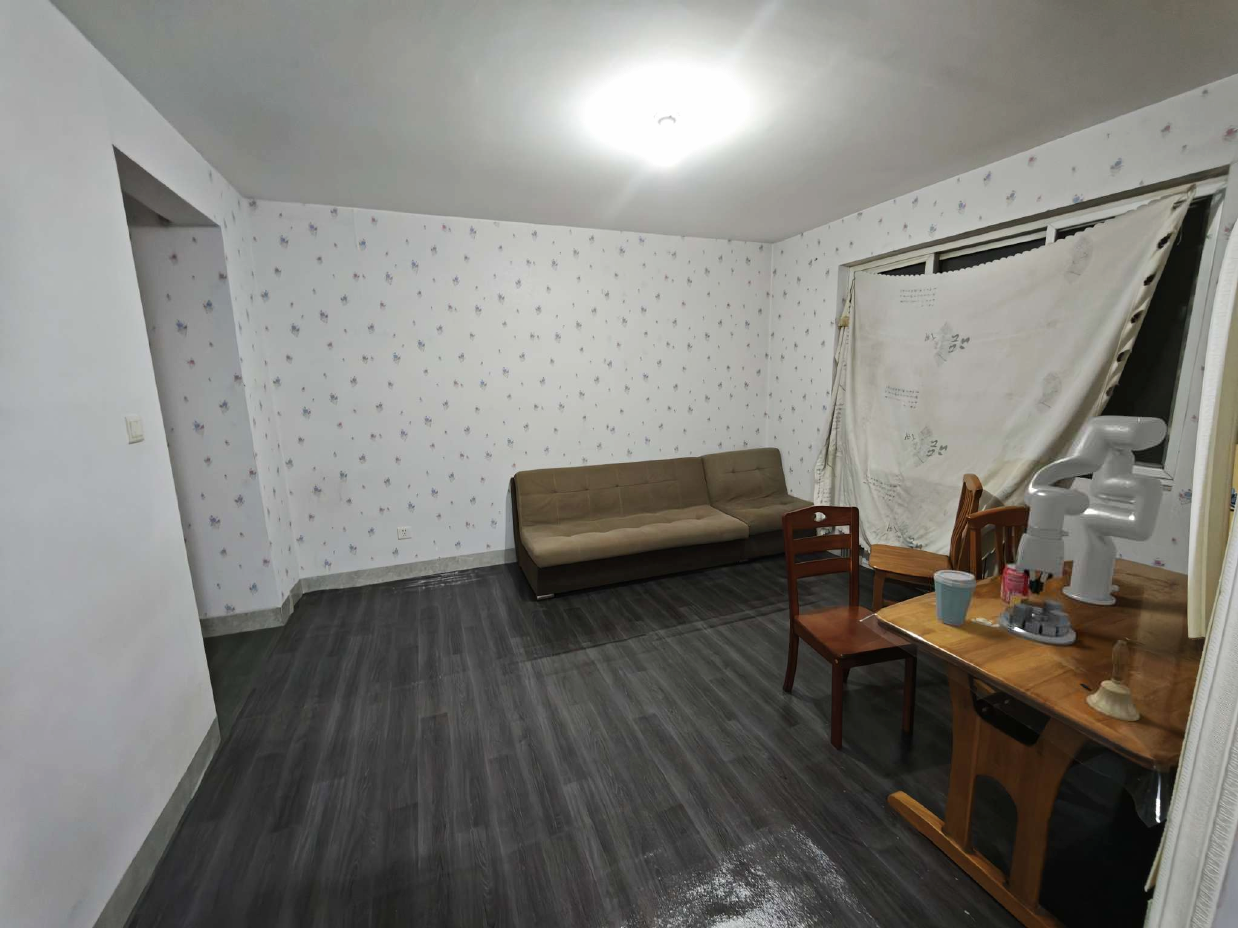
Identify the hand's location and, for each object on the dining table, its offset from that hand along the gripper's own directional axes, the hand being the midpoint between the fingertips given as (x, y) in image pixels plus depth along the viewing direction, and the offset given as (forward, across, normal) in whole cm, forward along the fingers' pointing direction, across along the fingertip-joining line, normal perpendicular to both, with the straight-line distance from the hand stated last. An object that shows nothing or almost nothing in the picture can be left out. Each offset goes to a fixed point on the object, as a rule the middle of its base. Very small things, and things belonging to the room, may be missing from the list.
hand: (1034, 592), depth 143 cm
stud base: (+10, 0, +5) cm, 11 cm away
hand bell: (+10, -9, +40) cm, 42 cm away
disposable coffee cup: (+10, +20, +11) cm, 25 cm away
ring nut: (+8, 0, +5) cm, 9 cm away
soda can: (+9, +2, -15) cm, 18 cm away
